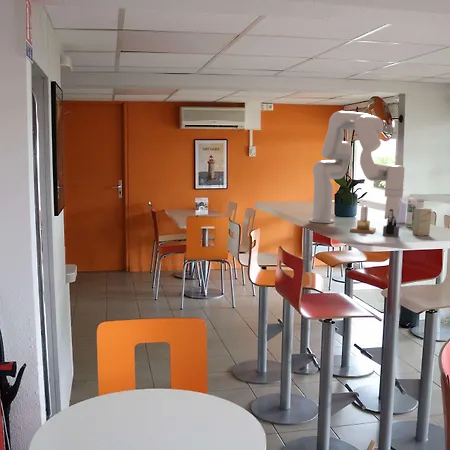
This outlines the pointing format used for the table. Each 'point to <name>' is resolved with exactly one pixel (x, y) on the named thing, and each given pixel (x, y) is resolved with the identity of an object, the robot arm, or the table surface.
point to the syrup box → (412, 210)
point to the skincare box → (421, 221)
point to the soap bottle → (401, 211)
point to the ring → (396, 234)
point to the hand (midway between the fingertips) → (390, 232)
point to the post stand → (363, 223)
